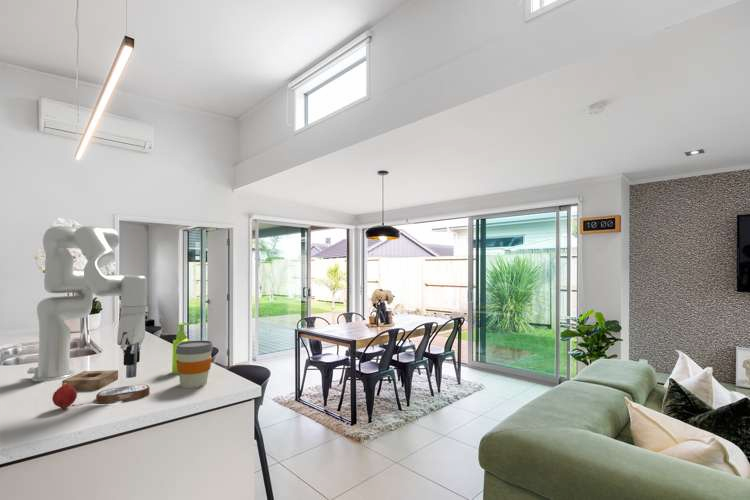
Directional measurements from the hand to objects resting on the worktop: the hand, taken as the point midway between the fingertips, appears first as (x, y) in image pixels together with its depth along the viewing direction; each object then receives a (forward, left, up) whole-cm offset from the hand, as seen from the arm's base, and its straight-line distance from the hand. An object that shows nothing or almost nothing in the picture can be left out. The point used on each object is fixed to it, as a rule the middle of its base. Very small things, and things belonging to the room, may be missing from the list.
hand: (131, 363), depth 132 cm
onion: (-13, -13, -10) cm, 21 cm away
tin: (-2, -1, -8) cm, 9 cm away
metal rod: (0, 0, -5) cm, 5 cm away
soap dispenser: (+7, +26, -10) cm, 29 cm away
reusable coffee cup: (+18, +8, -10) cm, 22 cm away
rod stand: (-18, +9, -10) cm, 22 cm away
